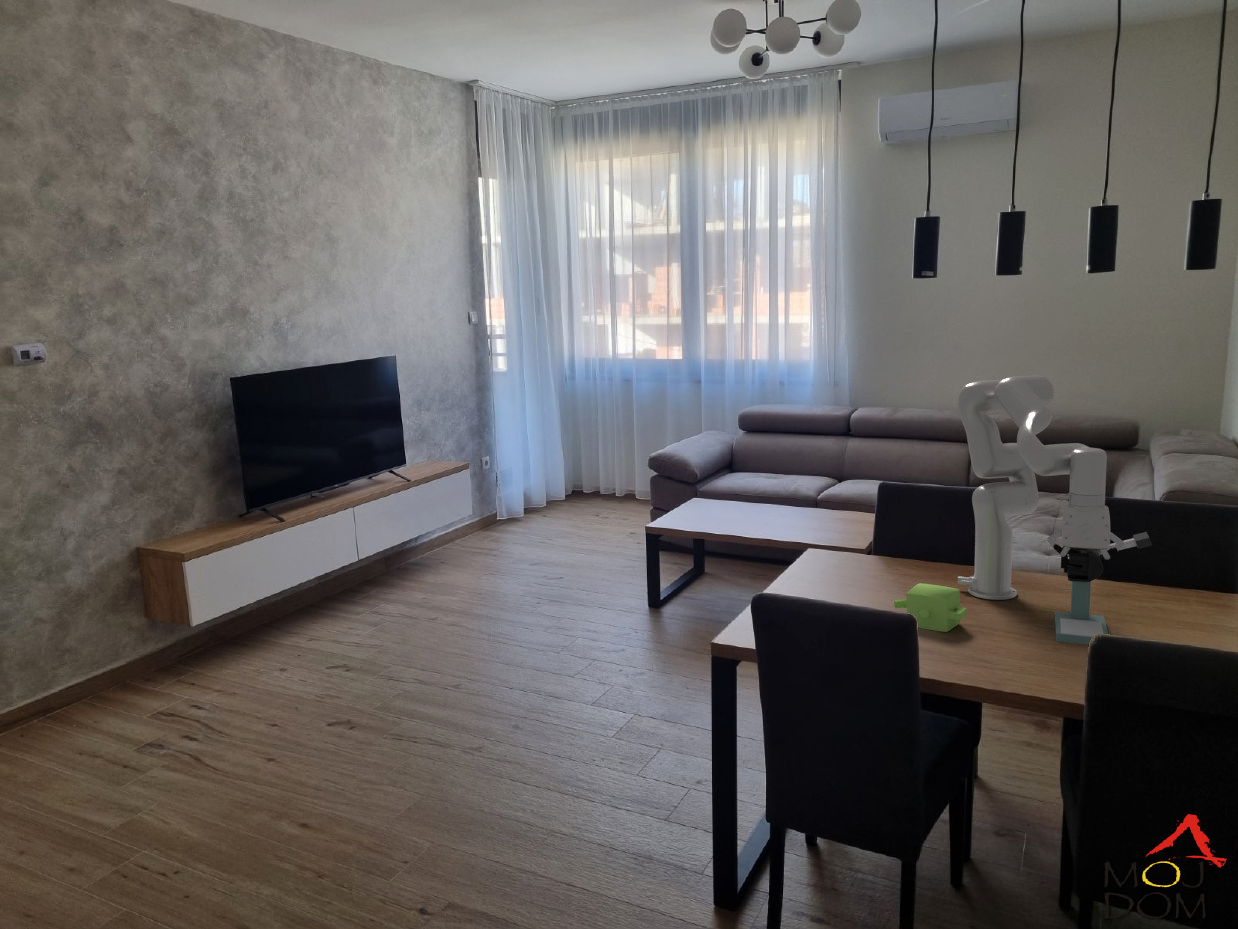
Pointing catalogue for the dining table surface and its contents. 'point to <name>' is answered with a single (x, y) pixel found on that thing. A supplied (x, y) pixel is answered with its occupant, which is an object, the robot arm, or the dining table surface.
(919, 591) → the gearbox
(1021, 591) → the dining table surface
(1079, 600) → the press frame
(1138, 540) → the press lever
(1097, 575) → the end cap
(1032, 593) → the dining table surface
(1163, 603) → the dining table surface
